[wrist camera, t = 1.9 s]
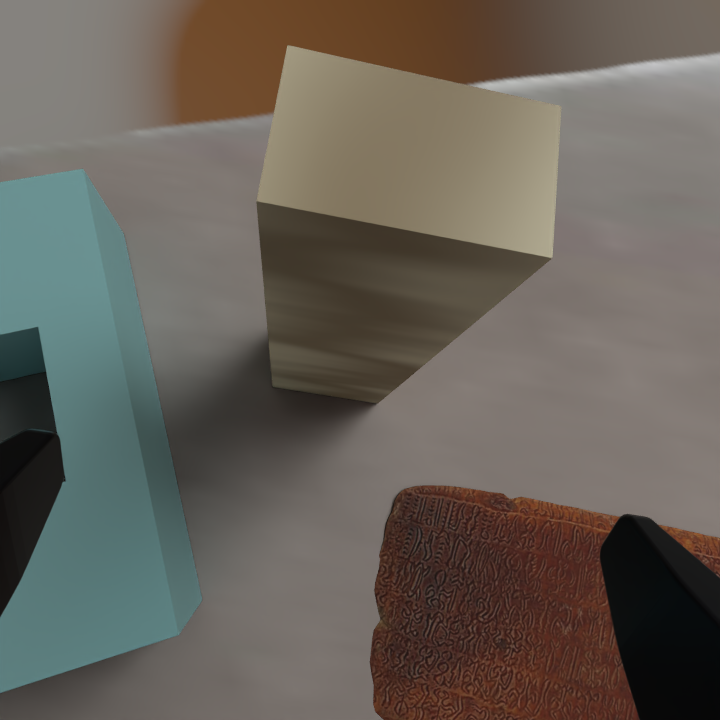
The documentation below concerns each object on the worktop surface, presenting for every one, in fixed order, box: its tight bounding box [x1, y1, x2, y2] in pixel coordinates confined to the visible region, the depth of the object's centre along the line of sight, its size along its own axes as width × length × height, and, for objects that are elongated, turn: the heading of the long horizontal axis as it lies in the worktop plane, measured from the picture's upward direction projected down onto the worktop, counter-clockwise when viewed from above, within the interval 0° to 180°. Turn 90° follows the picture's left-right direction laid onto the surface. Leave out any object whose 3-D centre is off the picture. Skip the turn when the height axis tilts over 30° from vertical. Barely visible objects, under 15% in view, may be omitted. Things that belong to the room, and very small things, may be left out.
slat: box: [257, 46, 561, 403], centre depth 14 cm, size 4×2×14 cm, turn 82°
